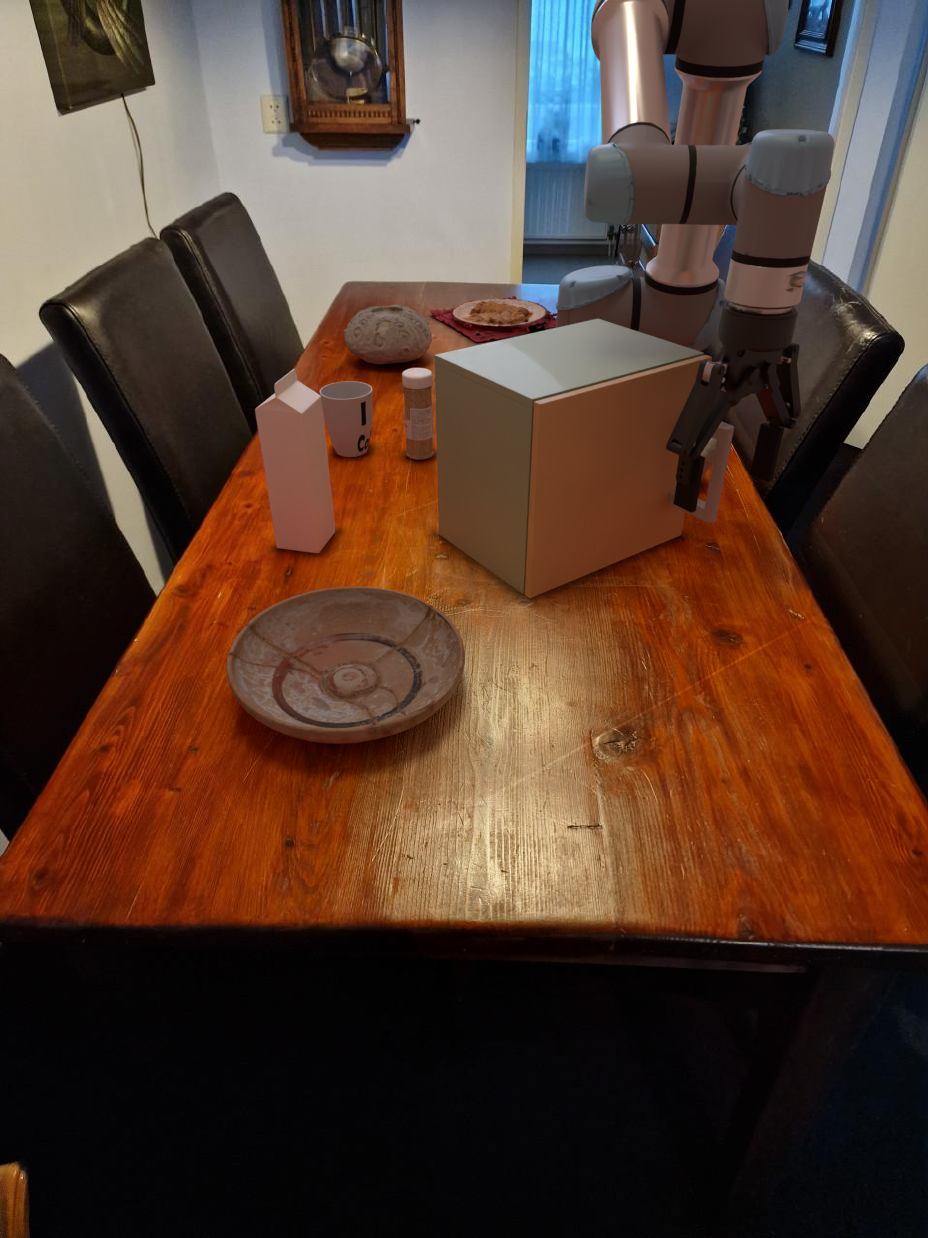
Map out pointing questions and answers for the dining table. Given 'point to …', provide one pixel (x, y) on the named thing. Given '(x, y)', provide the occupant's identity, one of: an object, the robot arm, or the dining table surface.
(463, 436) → the cabinet
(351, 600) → the ceramic bowl
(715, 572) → the dining table surface
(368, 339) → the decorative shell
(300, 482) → the milk
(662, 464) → the door
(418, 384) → the sprinkles bottle
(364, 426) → the cup
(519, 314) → the plate with food
